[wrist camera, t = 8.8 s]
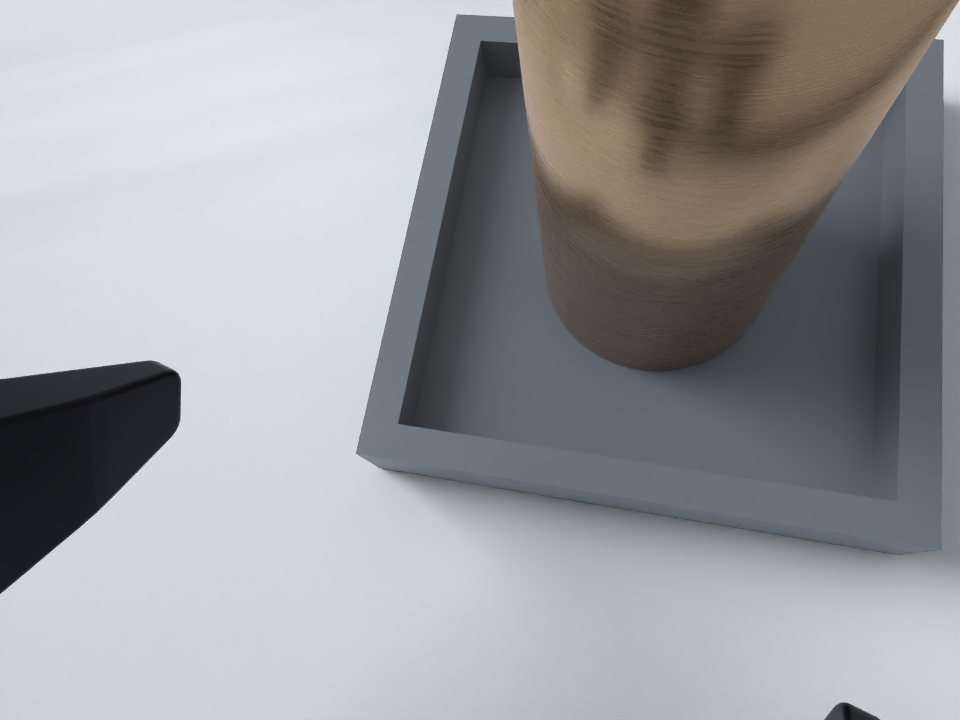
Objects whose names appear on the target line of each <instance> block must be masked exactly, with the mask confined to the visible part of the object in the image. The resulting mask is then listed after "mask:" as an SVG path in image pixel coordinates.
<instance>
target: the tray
mask: <svg viewBox="0 0 960 720" xmlns="http://www.w3.org/2000/svg"><path fill="white" fill-rule="evenodd" d="M943 49H944V40H936V39H934V40H933V42H932V44H931V45H930V47H929V48H928V50H927V51H926V53H925V55H924V56H923V58H922V59H921V61H920V62H919V64H918V65H917V67H916V69H915V70H914V72H913V73H912V75H911V76H910V78H909V79H908V81H907V83H906V84H905V86H904V87H903V89H902V90H901V92H900V94H899V95H898V97H897V98H896V100H895V101H894V103H893V104H892V106H891V108H890V109H889V111H888V112H887V114H886V115H885V117H884V119H883V120H882V122H881V123H880V125H879V126H878V128H877V129H876V131H875V133H874V134H873V136H872V137H871V139H870V140H869V142H868V144H867V145H866V147H865V148H864V150H863V151H862V153H861V154H860V156H859V158H858V159H857V161H856V162H855V164H854V165H853V167H852V169H851V170H850V172H849V173H848V175H847V176H846V178H845V179H844V181H843V183H842V184H841V186H840V187H839V189H838V190H837V192H836V193H835V195H834V197H833V198H832V200H831V201H830V203H829V204H828V206H827V208H826V209H825V211H824V212H823V214H822V215H821V217H820V218H819V220H818V222H817V223H816V225H815V226H814V228H813V229H812V231H811V233H810V234H809V236H808V237H807V239H806V240H805V242H804V243H803V245H802V247H801V248H800V250H799V251H798V253H797V254H796V256H795V258H794V259H793V261H792V262H791V264H790V265H789V267H788V268H787V270H786V272H785V273H784V275H783V276H782V278H781V279H780V281H779V283H778V284H777V286H776V287H775V289H774V290H773V292H772V293H771V295H770V297H769V298H768V300H767V301H766V303H765V304H764V306H763V308H762V309H761V311H760V312H759V314H758V315H757V317H756V318H755V320H754V322H753V323H752V325H751V326H750V327H749V329H748V330H747V331H746V332H745V333H744V335H743V336H742V337H741V338H740V339H739V340H738V341H737V342H735V343H734V344H733V345H732V346H731V347H730V348H728V349H727V350H725V351H724V352H722V353H721V354H719V355H718V356H716V357H714V358H712V359H710V360H708V361H706V362H703V363H700V364H698V365H695V366H692V367H688V368H683V369H678V370H670V371H645V370H638V369H632V368H628V367H625V366H621V365H617V364H615V363H613V362H610V361H608V360H606V359H603V358H602V357H600V356H598V355H596V354H595V353H593V352H591V351H590V350H588V349H587V348H586V347H585V346H583V345H582V344H581V343H579V342H578V341H577V340H576V339H575V338H574V337H573V336H572V335H571V334H570V333H569V331H568V330H567V329H566V327H565V326H564V325H563V323H562V322H561V321H560V319H559V317H558V315H557V313H556V312H555V310H554V307H553V305H552V302H551V300H550V297H549V293H548V289H547V284H546V275H545V267H544V259H543V250H542V242H541V234H540V225H539V217H538V208H537V200H536V192H535V183H534V175H533V167H532V158H531V150H530V142H529V133H528V125H527V117H526V108H525V100H524V91H523V83H522V75H521V66H520V58H519V50H518V41H517V33H516V25H515V17H496V16H477V15H458V14H457V16H456V20H455V24H454V29H453V33H452V38H451V42H450V46H449V51H448V55H447V59H446V64H445V68H444V72H443V77H442V81H441V85H440V90H439V94H438V98H437V103H436V107H435V112H434V116H433V120H432V125H431V129H430V133H429V138H428V142H427V146H426V151H425V155H424V159H423V164H422V168H421V172H420V177H419V181H418V186H417V190H416V194H415V199H414V203H413V207H412V212H411V216H410V220H409V225H408V229H407V233H406V238H405V242H404V246H403V251H402V255H401V260H400V264H399V268H398V273H397V277H396V281H395V286H394V290H393V294H392V299H391V303H390V307H389V312H388V316H387V320H386V325H385V329H384V334H383V338H382V342H381V347H380V351H379V355H378V360H377V364H376V368H375V373H374V377H373V381H372V386H371V390H370V394H369V399H368V403H367V408H366V412H365V416H364V421H363V425H362V429H361V434H360V438H359V442H358V447H357V451H356V454H358V455H359V456H361V457H363V458H364V459H366V460H367V461H369V462H371V463H372V464H374V465H375V466H377V467H379V468H383V469H389V470H395V471H401V472H407V473H413V474H419V475H425V476H431V477H437V478H443V479H449V480H455V481H461V482H467V483H473V484H479V485H485V486H491V487H497V488H503V489H509V490H515V491H521V492H527V493H533V494H539V495H545V496H551V497H557V498H563V499H569V500H575V501H581V502H587V503H593V504H599V505H604V506H610V507H616V508H622V509H628V510H634V511H640V512H646V513H652V514H658V515H664V516H670V517H676V518H682V519H688V520H694V521H700V522H706V523H712V524H718V525H724V526H730V527H736V528H742V529H748V530H754V531H760V532H766V533H772V534H778V535H784V536H790V537H796V538H802V539H808V540H814V541H820V542H826V543H832V544H838V545H844V546H849V547H855V548H861V549H867V550H873V551H879V552H885V553H891V554H897V555H900V554H909V553H918V552H926V551H935V550H941V451H942V250H943Z"/></svg>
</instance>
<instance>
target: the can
mask: <svg viewBox="0 0 960 720" xmlns="http://www.w3.org/2000/svg"><path fill="white" fill-rule="evenodd" d="M958 1H959V0H513V8H514V16H515V25H516V33H517V41H518V50H519V58H520V66H521V75H522V83H523V91H524V100H525V108H526V117H527V125H528V133H529V142H530V150H531V158H532V167H533V175H534V183H535V192H536V200H537V208H538V217H539V225H540V234H541V242H542V250H543V259H544V267H545V275H546V284H547V289H548V293H549V297H550V300H551V302H552V305H553V307H554V310H555V312H556V313H557V315H558V317H559V319H560V321H561V322H562V323H563V325H564V326H565V327H566V329H567V330H568V331H569V333H570V334H571V335H572V336H573V337H574V338H575V339H576V340H577V341H578V342H579V343H581V344H582V345H583V346H585V347H586V348H587V349H588V350H590V351H591V352H593V353H595V354H596V355H598V356H600V357H602V358H603V359H606V360H608V361H610V362H613V363H615V364H617V365H621V366H625V367H628V368H632V369H638V370H645V371H670V370H678V369H683V368H688V367H692V366H695V365H698V364H700V363H703V362H706V361H708V360H710V359H712V358H714V357H716V356H718V355H719V354H721V353H722V352H724V351H725V350H727V349H728V348H730V347H731V346H732V345H733V344H734V343H735V342H737V341H738V340H739V339H740V338H741V337H742V336H743V335H744V333H745V332H746V331H747V330H748V329H749V327H750V326H751V325H752V323H753V322H754V320H755V318H756V317H757V315H758V314H759V312H760V311H761V309H762V308H763V306H764V304H765V303H766V301H767V300H768V298H769V297H770V295H771V293H772V292H773V290H774V289H775V287H776V286H777V284H778V283H779V281H780V279H781V278H782V276H783V275H784V273H785V272H786V270H787V268H788V267H789V265H790V264H791V262H792V261H793V259H794V258H795V256H796V254H797V253H798V251H799V250H800V248H801V247H802V245H803V243H804V242H805V240H806V239H807V237H808V236H809V234H810V233H811V231H812V229H813V228H814V226H815V225H816V223H817V222H818V220H819V218H820V217H821V215H822V214H823V212H824V211H825V209H826V208H827V206H828V204H829V203H830V201H831V200H832V198H833V197H834V195H835V193H836V192H837V190H838V189H839V187H840V186H841V184H842V183H843V181H844V179H845V178H846V176H847V175H848V173H849V172H850V170H851V169H852V167H853V165H854V164H855V162H856V161H857V159H858V158H859V156H860V154H861V153H862V151H863V150H864V148H865V147H866V145H867V144H868V142H869V140H870V139H871V137H872V136H873V134H874V133H875V131H876V129H877V128H878V126H879V125H880V123H881V122H882V120H883V119H884V117H885V115H886V114H887V112H888V111H889V109H890V108H891V106H892V104H893V103H894V101H895V100H896V98H897V97H898V95H899V94H900V92H901V90H902V89H903V87H904V86H905V84H906V83H907V81H908V79H909V78H910V76H911V75H912V73H913V72H914V70H915V69H916V67H917V65H918V64H919V62H920V61H921V59H922V58H923V56H924V55H925V53H926V51H927V50H928V48H929V47H930V45H931V44H932V42H933V40H934V39H935V37H936V36H937V34H938V33H939V31H940V30H941V28H942V26H943V25H944V23H945V22H946V20H947V19H948V17H949V15H950V14H951V12H952V11H953V9H954V8H955V6H956V5H957V3H958Z"/></svg>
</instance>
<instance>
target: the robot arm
mask: <svg viewBox="0 0 960 720" xmlns="http://www.w3.org/2000/svg"><path fill="white" fill-rule="evenodd" d="M180 413H181V379H180V376H179V374H178V373H177V372H176V371H175V370H173V369H171V368H169V367H167V366H165V365H163V364H161V363H159V362H156V361H141V362H133V363H126V364H118V365H110V366H102V367H94V368H86V369H78V370H70V371H62V372H54V373H46V374H39V375H31V376H23V377H15V378H7V379H0V594H1V593H2V592H3V591H4V590H6V589H7V588H8V587H9V586H10V585H12V584H13V583H14V582H15V581H16V580H18V579H19V578H20V577H21V576H22V575H24V574H25V573H26V572H27V571H28V570H30V569H31V568H32V567H33V566H34V565H35V564H37V563H38V562H39V561H40V560H41V559H43V558H44V557H45V556H46V555H47V554H49V553H50V552H51V551H52V550H53V549H55V548H56V547H57V546H58V545H59V544H61V543H62V542H63V541H64V540H65V539H66V538H68V537H69V536H70V535H71V534H72V533H74V532H75V531H76V530H77V529H78V528H80V527H81V526H82V525H83V524H84V523H85V522H86V521H88V520H89V519H90V518H91V517H92V516H93V515H94V514H96V513H97V512H98V511H99V510H100V509H101V508H102V507H103V506H104V505H105V504H106V503H107V502H108V501H109V500H110V499H111V498H112V497H113V496H114V495H115V494H116V493H117V492H118V491H119V490H120V489H121V488H122V487H123V486H124V485H125V484H126V483H127V482H128V481H129V480H130V479H131V478H132V477H133V476H134V475H135V474H136V473H137V472H138V471H139V470H140V469H141V468H142V466H143V465H144V464H145V463H146V462H147V461H148V460H149V459H150V458H151V457H152V456H153V455H154V454H155V453H156V452H157V451H158V450H159V449H160V448H161V447H162V446H163V445H164V444H165V443H166V442H167V441H168V440H169V439H170V438H171V437H172V436H173V434H174V433H175V431H176V430H177V428H178V426H179V422H180ZM824 720H880V719H878V718H877V717H875V716H873V715H871V714H869V713H867V712H865V711H863V710H861V709H859V708H857V707H855V706H853V705H851V704H849V703H844V702H843V703H839V704H838V705H836V706H835V707H834V708H833V709H832V711H831V712H830V713H829V714H828V716H827V717H826V718H825V719H824Z"/></svg>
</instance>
